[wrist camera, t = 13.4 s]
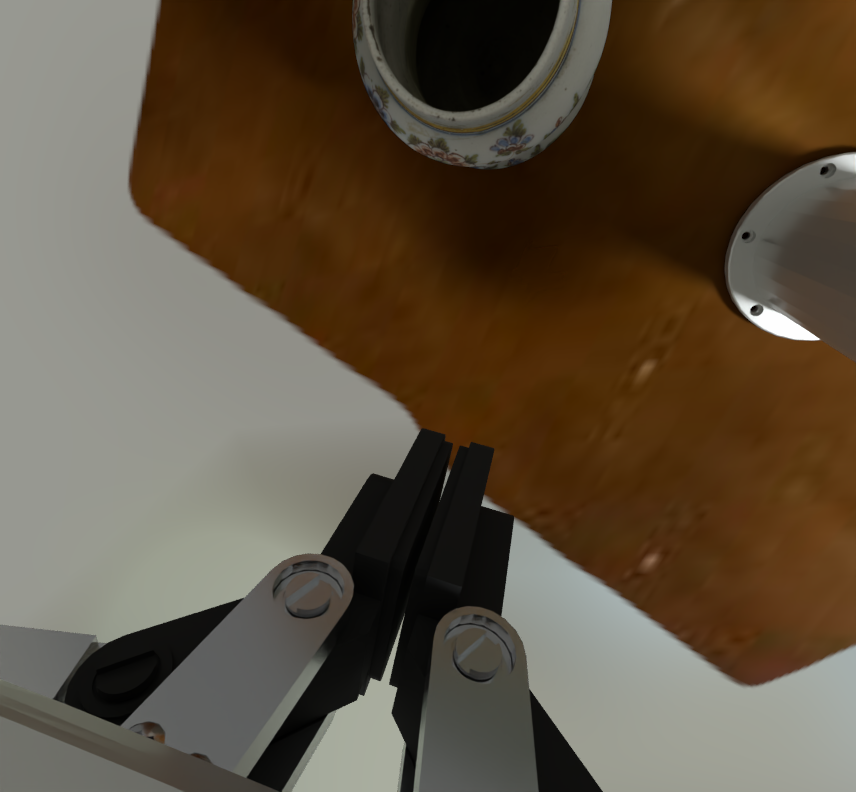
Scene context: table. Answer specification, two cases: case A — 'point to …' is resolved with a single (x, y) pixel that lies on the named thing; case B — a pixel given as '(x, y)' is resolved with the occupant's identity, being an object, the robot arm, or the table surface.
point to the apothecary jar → (479, 72)
